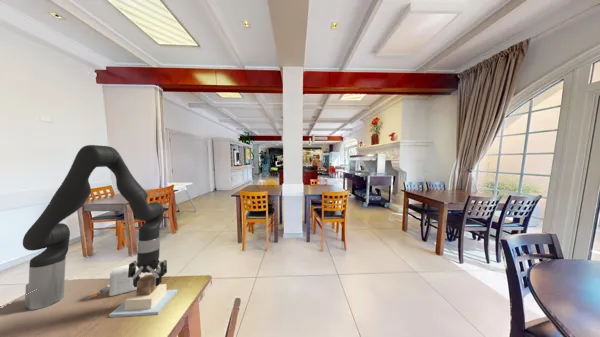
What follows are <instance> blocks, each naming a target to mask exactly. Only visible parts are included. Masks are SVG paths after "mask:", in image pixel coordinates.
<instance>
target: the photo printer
mask: <svg viewBox="0 0 600 337" xmlns="http://www.w3.org/2000/svg"><path fill="white" fill-rule="evenodd" d="M138 269H139V268H138V267H137V266H136V272H137V271H138ZM128 271H129V264H125V265H121V266H118V267H115V268H113V269H111V272H110V276H109V285H110V288H109V290H108V296H110V297H113V296H114V297H115V296H118V295H122V294H125V293H130V292H133V291H134V292H135V291H137V287H134V286H133V278H132V277H130V278H129V277H128Z"/></svg>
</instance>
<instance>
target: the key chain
mask: <svg viewBox="0 0 600 337" xmlns="http://www.w3.org/2000/svg"><path fill="white" fill-rule="evenodd" d="M109 288H110V284H108V285H106V286H105V287H103V288H101V289H100V290H99V291H96V292H94V294H92V295H91V296H89V297H87V298H86V300H89V299H91V298H95V297H96V298H97V296H99V294H102V293H105V292H106V293H107V292H109Z"/></svg>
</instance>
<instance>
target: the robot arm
mask: <svg viewBox="0 0 600 337" xmlns="http://www.w3.org/2000/svg"><path fill="white" fill-rule="evenodd" d="M103 167H104V168H107V169H109V170H110V171H111V172H112V173H113V174H114V177H115V180H116V181H115V183H116V189H117V190H118V192H119V194H120V195H121V196H122V197H123V198H124V199H125V200H126V201H127V203H128V204H129V207H130V209H131V212H132V214H133V215H134V217H135V218H136V219H138V220H139V221H142V222H144V223H143V225H141V227H139V229H138V242H137V252H136V253H137V255H136V260H134V261H132V262H130V263H129V264H128V265H129V271H128V277H129V278H130V277H132V278H133V286H134V287H137V281H138V280H140V279H141V274H146V273H148V274H151V275H155V276H156V283H155V286H158V285H159V284H162V282H163V280H162V279H163V277H164V275H167V273H168V266H167V264H168V260H166V259H164V260H161V261H160V260H159V258H160V248H161V246H160V244H161V241H160V226H161V224H162V220H163V217H164V213H165V209H164V207H163V205H162V203H160V202H157V201H155V202H154V201H153V202H150V203H148V201H147V199H148V197H149V194H148V192H147V191H146V190H145V188H144V187H142V185H141V184H140V183H139V182H138V181H137V180H136V178H135V177H134V176H133V174H132V173H131V171H130V170H129V168H128V166H127V164H126V163H125V161H124V159H123V157H122V156H121V154H120V152H118V150H117V149H116V148H114V147H111V146H107V145H97V144H96V145H95V144H88V145H84V146H82V147H81V148H80V149H79V150H78V152H77V153H76V155H75V158H74V160H73V161H72V164H71V166H70V168H69V170H68V172H67V174H66V176H65V178H64V179H63V181H62V183H61V185H60V186H59V187H58V188H57V190H56V191H55V193H54V195H53V196H52V198H51V199H50V201H49V203H48V205H46V206H45V207H46V208H45V209H44V210H43V212H42V213H41V214H40V215H39V217H38V218H37V219H36V220H35V222H33V224H32V225H31V226H30V228H29V229H28V230H27V231H26V232H25V234H24V236H23V239H22V246H23V248H24V249H25V250H26V251H38V250H43V249H44V250H43V251H42V252H40V253H38V254H37V255H35V256H34V257H31V259H30V260H29V263H28V264H29V265H28V266H29V268H28V269H29V270H28V283H27V284H26V285H25V294H24V295H25V296H24V308H26V309H27V310H31V311H33V310H39V309H43V308H46V307H49V306H51V305H54V304H56V303H57V302H60V300H62V299H63V298H64V297H65V281H66V278H65V277H66V257H67V256H66V255H67V254H68V252H69V245H70V238H71V231H70V228H69V226H68V225H67V224H65V223H62V221H64V220H65V219H67V218H68V217H70V216H71V215H73V214H74V213H76V212H77V211H79V210H80V209H81V208H82V207H83V206H84V204H85V203H86V201H87V200H88V199H89V197H90V195H91V193H92V189H91V184H90V182H89V178H90V176H91V174H92V173H93V171H94V170H95V169H96V168H103ZM136 266H137V267H138V268H139V269H138V271H137V272H136ZM36 289H37V290H36ZM34 290H35V291H34ZM32 291H33V292H32ZM30 292H31V293H30ZM28 293H29V294H28ZM26 294H27V295H26Z"/></svg>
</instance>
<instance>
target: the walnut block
mask: <svg viewBox="0 0 600 337" xmlns="http://www.w3.org/2000/svg"><path fill="white" fill-rule="evenodd" d="M155 283H156V276H155V275H153V274H145V275H144V276H142V277H140V280H138V281H137V290H136V291H137V295H136V296H143V295H150V294H151V293H152V292H153V291H154V290H155V289H156V288H157V286H155Z"/></svg>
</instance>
